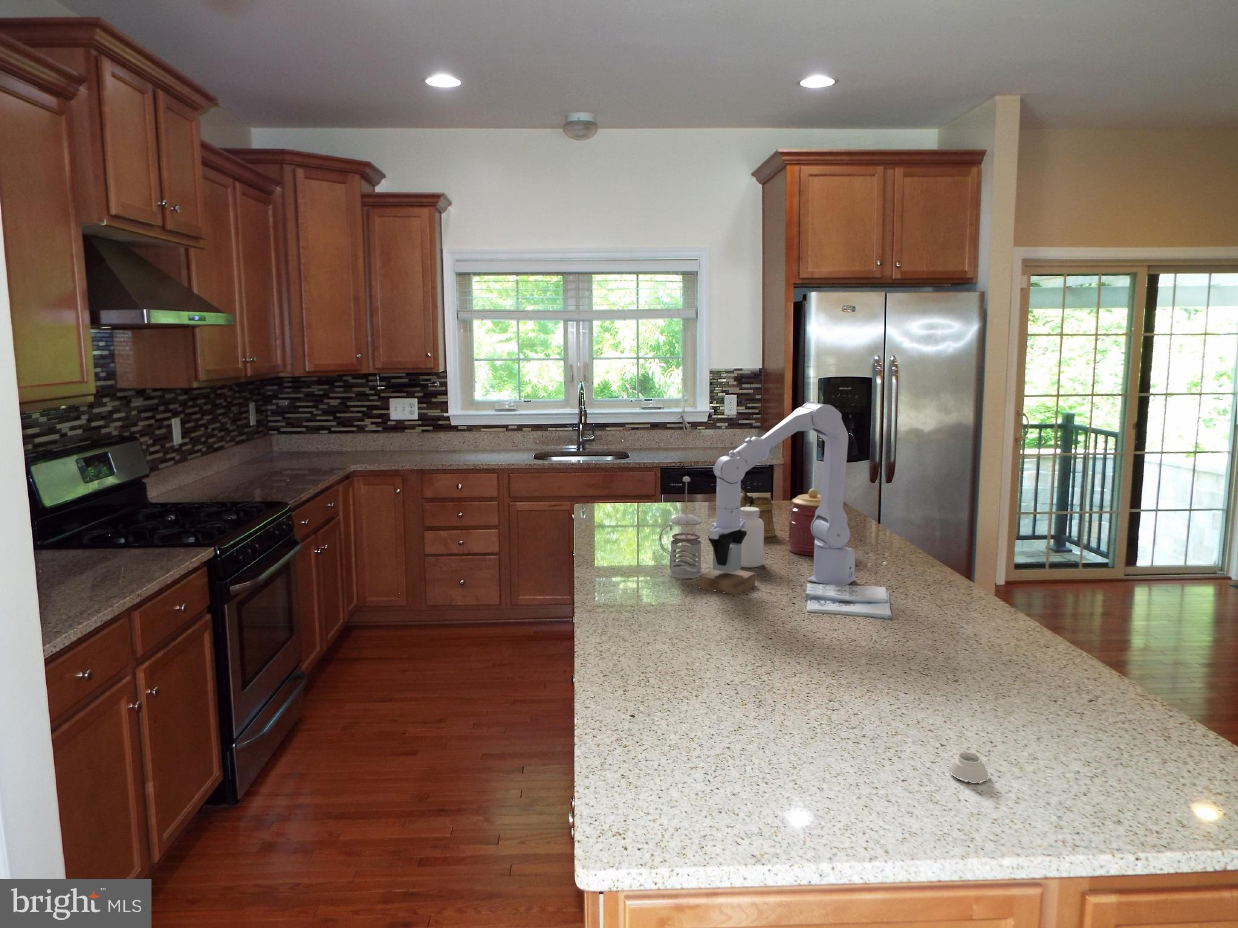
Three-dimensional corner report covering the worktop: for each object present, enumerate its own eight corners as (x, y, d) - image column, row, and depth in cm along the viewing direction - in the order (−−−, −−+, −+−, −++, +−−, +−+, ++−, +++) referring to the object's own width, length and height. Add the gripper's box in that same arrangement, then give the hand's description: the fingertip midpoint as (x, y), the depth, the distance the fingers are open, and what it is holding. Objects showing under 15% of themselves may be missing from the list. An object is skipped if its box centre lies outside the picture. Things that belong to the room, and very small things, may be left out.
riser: (755, 584, 208) (755, 573, 208) (735, 595, 200) (735, 582, 200) (718, 578, 214) (718, 566, 214) (698, 588, 206) (698, 575, 206)
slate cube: (741, 568, 207) (741, 544, 206) (731, 572, 203) (731, 548, 202) (722, 565, 210) (723, 541, 209) (712, 569, 206) (713, 545, 205)
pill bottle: (762, 560, 231) (763, 505, 228) (764, 568, 223) (765, 512, 220) (732, 559, 231) (733, 505, 229) (733, 568, 224) (734, 511, 221)
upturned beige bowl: (955, 764, 123) (944, 778, 119) (956, 744, 122) (945, 758, 118) (992, 775, 120) (982, 790, 116) (993, 755, 119) (983, 769, 115)
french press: (702, 579, 213) (704, 480, 209) (656, 577, 216) (656, 478, 212) (706, 568, 223) (708, 473, 219) (662, 566, 225) (662, 472, 221)
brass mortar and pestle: (728, 531, 264) (729, 473, 262) (772, 531, 265) (774, 473, 262) (732, 538, 256) (733, 478, 253) (778, 538, 256) (779, 478, 253)
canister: (831, 545, 247) (833, 484, 244) (838, 557, 234) (840, 493, 231) (785, 544, 248) (787, 484, 245) (789, 556, 235) (791, 492, 233)
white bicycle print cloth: (889, 594, 203) (889, 585, 202) (892, 622, 183) (892, 612, 183) (806, 588, 208) (806, 580, 207) (800, 615, 188) (801, 605, 188)
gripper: (727, 500, 212) (726, 553, 215) (698, 510, 201) (697, 566, 203) (753, 503, 208) (752, 557, 211) (725, 513, 197) (724, 571, 199)
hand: (727, 562), depth 206 cm, fingers closed on slate cube, 5 cm apart
